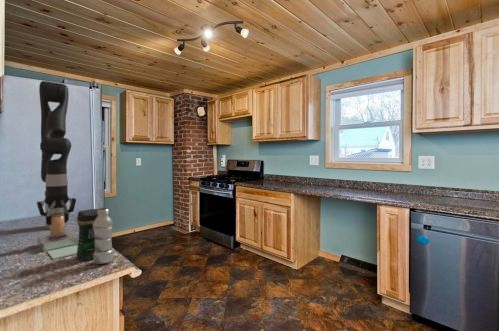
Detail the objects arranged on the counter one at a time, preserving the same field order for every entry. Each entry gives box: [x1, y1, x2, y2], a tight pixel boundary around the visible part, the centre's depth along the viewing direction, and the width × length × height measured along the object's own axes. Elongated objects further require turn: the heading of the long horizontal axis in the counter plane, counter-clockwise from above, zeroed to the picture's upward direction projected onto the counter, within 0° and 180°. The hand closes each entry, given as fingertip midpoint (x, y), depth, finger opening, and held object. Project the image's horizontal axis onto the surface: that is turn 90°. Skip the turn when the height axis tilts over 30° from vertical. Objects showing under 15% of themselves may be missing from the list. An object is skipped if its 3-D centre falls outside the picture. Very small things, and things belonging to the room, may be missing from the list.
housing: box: [36, 230, 79, 253], centre depth 114 cm, size 12×12×4 cm
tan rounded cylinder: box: [49, 213, 66, 237], centre depth 113 cm, size 5×5×9 cm
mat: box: [46, 245, 78, 260], centre depth 106 cm, size 10×10×1 cm
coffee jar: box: [76, 207, 101, 261], centre depth 102 cm, size 10×8×19 cm
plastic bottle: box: [92, 207, 114, 265], centre depth 96 cm, size 6×7×20 cm
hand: (57, 223), depth 113 cm, fingers closed on tan rounded cylinder, 5 cm apart
